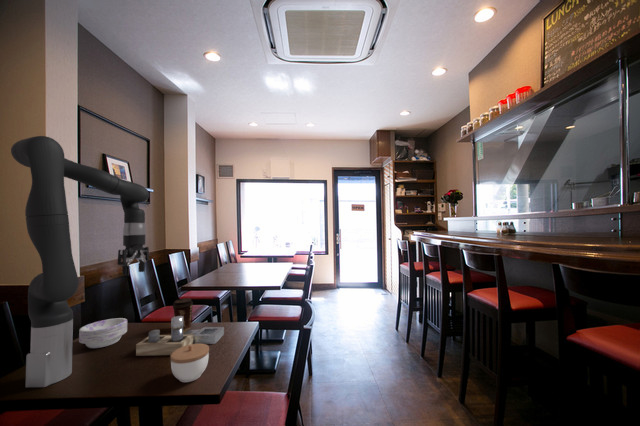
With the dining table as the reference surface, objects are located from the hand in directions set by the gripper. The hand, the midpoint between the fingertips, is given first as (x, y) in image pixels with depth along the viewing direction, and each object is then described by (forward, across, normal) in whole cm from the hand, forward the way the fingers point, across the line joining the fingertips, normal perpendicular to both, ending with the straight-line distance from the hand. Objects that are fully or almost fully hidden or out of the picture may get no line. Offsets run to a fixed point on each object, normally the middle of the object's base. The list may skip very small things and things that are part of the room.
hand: (134, 273), depth 107 cm
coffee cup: (+28, -15, +12) cm, 34 cm away
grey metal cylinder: (+28, +6, +22) cm, 36 cm away
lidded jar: (+28, +24, +36) cm, 52 cm away
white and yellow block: (+28, -3, +21) cm, 35 cm away
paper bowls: (+28, -1, -13) cm, 31 cm away
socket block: (+28, -3, +30) cm, 41 cm away
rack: (+28, +6, +17) cm, 33 cm away
